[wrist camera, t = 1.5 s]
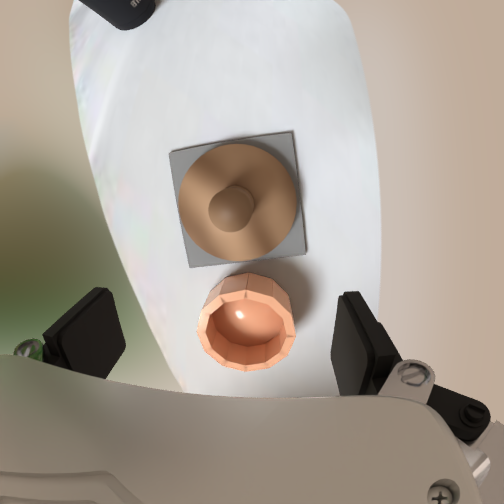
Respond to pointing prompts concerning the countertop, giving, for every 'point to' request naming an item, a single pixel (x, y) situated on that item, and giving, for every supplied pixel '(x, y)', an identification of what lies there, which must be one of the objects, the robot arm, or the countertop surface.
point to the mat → (276, 147)
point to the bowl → (247, 323)
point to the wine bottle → (122, 11)
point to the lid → (237, 202)
